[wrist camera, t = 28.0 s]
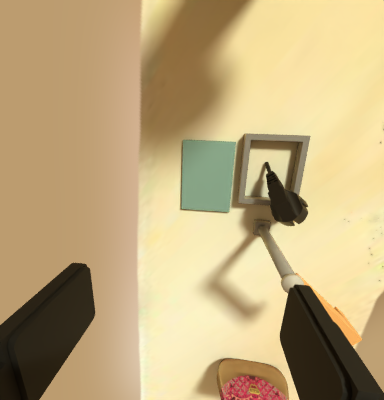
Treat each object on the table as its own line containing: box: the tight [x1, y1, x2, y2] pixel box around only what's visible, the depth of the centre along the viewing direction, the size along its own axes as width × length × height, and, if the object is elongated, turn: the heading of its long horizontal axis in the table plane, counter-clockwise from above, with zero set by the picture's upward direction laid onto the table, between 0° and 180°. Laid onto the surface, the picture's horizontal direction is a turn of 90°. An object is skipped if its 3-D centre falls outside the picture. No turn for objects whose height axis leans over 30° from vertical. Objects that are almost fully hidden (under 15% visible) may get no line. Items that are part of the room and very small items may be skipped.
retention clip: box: [281, 273, 362, 345], centre depth 29 cm, size 15×3×5 cm, turn 47°
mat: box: [181, 140, 236, 212], centre depth 41 cm, size 14×10×1 cm
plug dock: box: [237, 134, 310, 278], centre depth 32 cm, size 20×11×18 cm, turn 178°
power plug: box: [265, 162, 308, 226], centre depth 38 cm, size 6×8×12 cm
